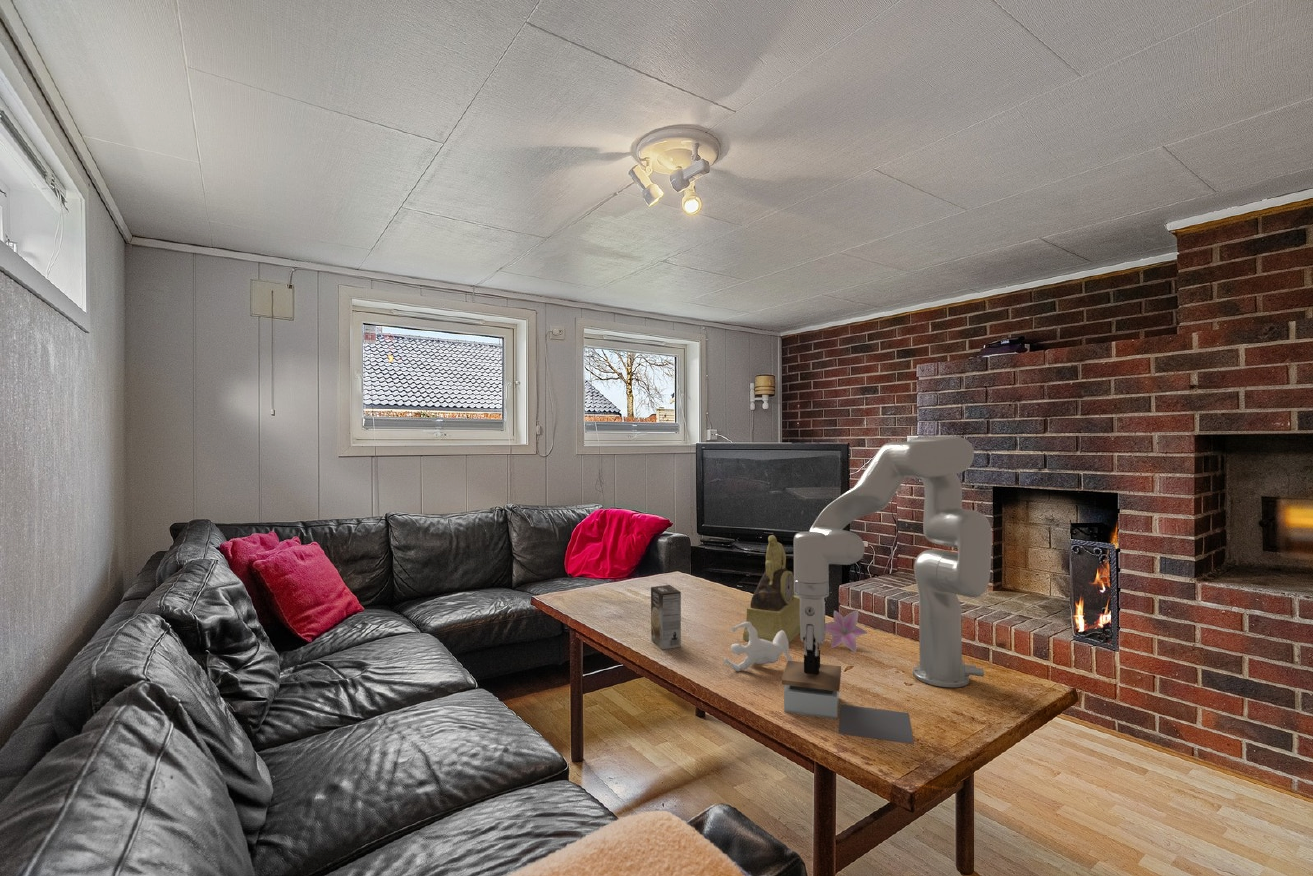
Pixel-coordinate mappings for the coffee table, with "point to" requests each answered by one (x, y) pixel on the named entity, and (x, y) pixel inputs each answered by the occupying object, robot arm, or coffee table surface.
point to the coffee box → (666, 616)
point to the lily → (844, 630)
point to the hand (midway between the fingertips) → (812, 669)
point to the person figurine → (759, 648)
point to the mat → (875, 724)
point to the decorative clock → (774, 598)
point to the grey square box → (811, 701)
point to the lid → (812, 676)
